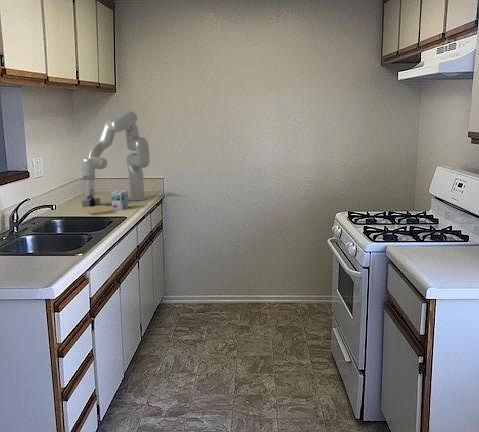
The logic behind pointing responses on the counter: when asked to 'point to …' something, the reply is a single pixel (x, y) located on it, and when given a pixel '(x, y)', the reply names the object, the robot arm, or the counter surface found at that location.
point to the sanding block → (87, 204)
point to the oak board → (98, 210)
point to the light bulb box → (119, 200)
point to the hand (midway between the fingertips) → (91, 205)
